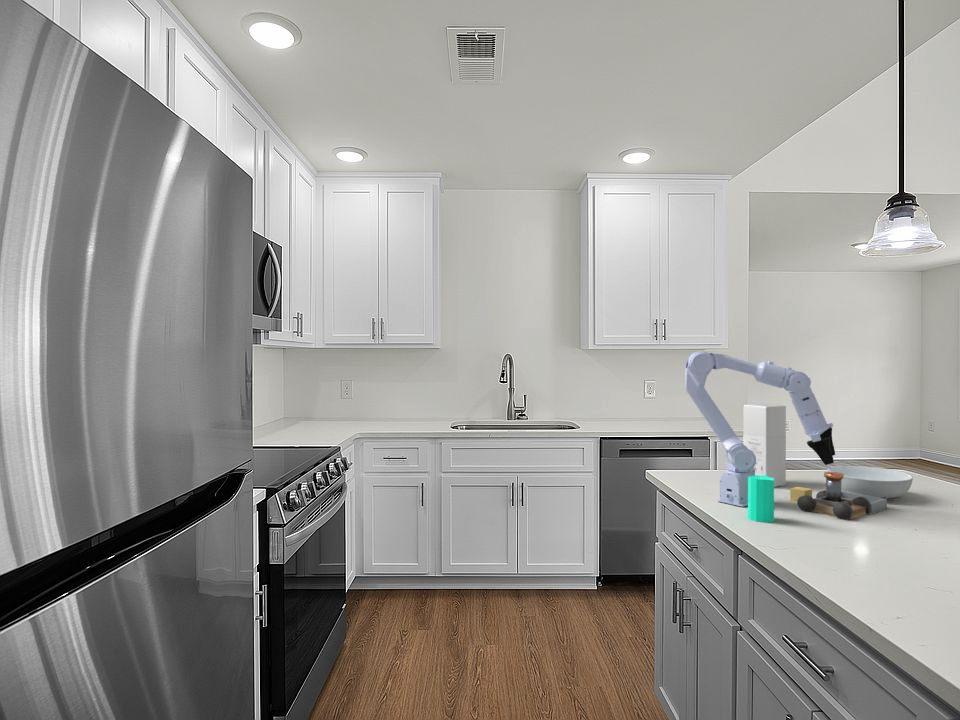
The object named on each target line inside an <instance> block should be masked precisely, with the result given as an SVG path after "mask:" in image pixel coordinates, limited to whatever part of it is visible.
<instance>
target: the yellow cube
mask: <svg viewBox="0 0 960 720" xmlns="http://www.w3.org/2000/svg"><path fill="white" fill-rule="evenodd" d="M789 492H790V493H789V494H790V495H789V496H790V497H789V498H790V499H789V500H790V502H791V501H792V502H796V503H797V500H798V498H799V497H801V496H804V495H809V496H811V497H812V498H813V489H812V488H809V487H808V488H807V487H802V486H795V487H791V488H790V490H789Z"/></svg>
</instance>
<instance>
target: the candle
mask: <svg viewBox="0 0 960 720" xmlns="http://www.w3.org/2000/svg"><path fill="white" fill-rule="evenodd" d="M747 519H748V520H751V521H754V522H757V523H772V522H773V523H774V521H775V487H774V478H770V477H768V476H763V475H754V476H749V477H748V506H747Z"/></svg>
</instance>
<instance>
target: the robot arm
mask: <svg viewBox="0 0 960 720" xmlns="http://www.w3.org/2000/svg"><path fill="white" fill-rule="evenodd" d="M774 363H775V362H774V361H771V360H767V362H766V361H762V362H760V363H758V364H756V363H752V362H750V361H746V360H744V359H740V358H737V357H733V356H730V355H728V354H727V355H726V354H725V353H724V354H722V353H714V352H707V351H704V350H702V351H700V350H699V351H698V350H697V351H693V352H692V353H690V355H689V356H688V358H687V360H686V362H685V365H684V372H685V373H684V388H685V390H686V393H687V394H688V396H689V397H690V398H691V400H692V401H693V403H694V404H695V406H696V408H697V409H698V410H699V412H700V414H701V415H702V416H703V417H704V419H705V421H706V423H708V425H709V427H710V428H711V430H712V431H713V433H714V434H715V436H716V437H717V438H718V441H720V443H721V446H722V447H723V448H724V450H725V452H726V458H727V460H728V462H729V463H728V465H727V466H726V471H725V473H723V474H722V475H721V476H720V477H719V498H718V499H716V502H720V503H724V504H728V505H732V506H737V507H742V508H743V507H744V508H745V507H748V477H749V476H754V475H755V468H753V467H754V466H755V464H756V456H755V454H754V453H753V452H752V451H751V450H749V449H748V448H747V447H746V446H745V445H743V442H742V440H741V439H740V438H739V437H738V435H737V434H736V433H735V431H734V430H733V428H732V427H731V425H730V424H729V422H728V421H727V419H726V418H725V416H724V415H723V413H722V412H721V411H720V408H718V406H717V404H716V403H715V401H714V399H712V396H711V395H710V394H709V393H708V391H707V390H706V388H705V385H706V383H707V377H708V375H709V374H710V373H711V371H712V370H721V369H728V370H733V371H736V372H740V373H743V374H748V375H751V376H753V377H754V379H755V380H756V382H758V383H762V384H763V385H764V384H765V385H768V386H772V387H775V388H777V389H778V388H779V389H784V390H785V391H787V392H788V394H789V397H790V398H791V403H792V405H793V406H794V409H795V412H796V414H797V417H798V418H799V420H800V423H801V425H802V427H803V430H804V434H805V435H806V436H808V437H810V439H811V440H808V441H806V444H807V446H808V447H809V448H810V449H812V450H813V452H814V453H816V455H817V457H819V458H820V460H821V462H822V463H823V465H824V466H828V465H830V464H834V463H835V462H834V461H835V460H834V457H833V456H836V450H835V447H834V443H833V427H834V423H832V422H830V423H827V421H826V418H825V415H824V413H823V412H822V409H821V407H820V405H819V402H818V400H817V398H816V396H815V393H814V392H813V390H812V388H811V385H812V380H811V377H809V376H808V375H807V374H806V373H804V372H803V371H798V370H797V371H796V370H793V368H792V367H789V366H787V367H784V366H781V365H776V364H774Z"/></svg>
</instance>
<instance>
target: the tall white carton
mask: <svg viewBox="0 0 960 720" xmlns="http://www.w3.org/2000/svg"><path fill="white" fill-rule="evenodd" d="M786 410H787V407H786V405H779V404H768V403H754V404H753V403H752V404H751V403H750V404H748V403H747V404H744V405H743V427H742V428H743V432H742V437H743V439H742V440H743V442H742V443H743V445H745V446H746V447H747V448H748V449H749V450H751V451H752V452H753V453H754V454H755V456H756V464H755V466H754V467H753V468H755V475H763V476H768V477H770V478H774V488H775V487H782V486H786V476H787V475H786V471H787V470H786V467H787V465H786V462H787V461H786V459H787V458H786V455H787V452H786V451H787V446H786V445H787V444H786V443H787V441H786V439H787V437H786V431H787V425H786V423H787V419H786V417H787V415H786V414H787V411H786Z"/></svg>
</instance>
